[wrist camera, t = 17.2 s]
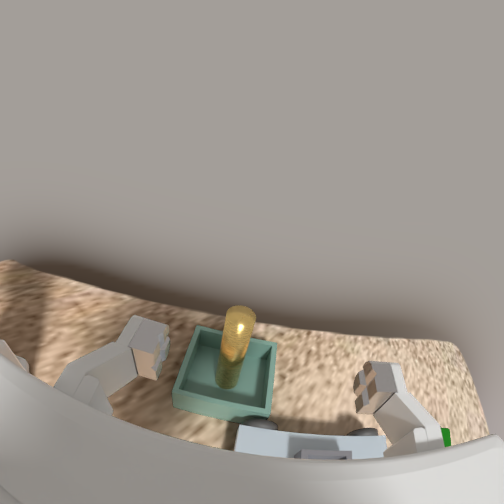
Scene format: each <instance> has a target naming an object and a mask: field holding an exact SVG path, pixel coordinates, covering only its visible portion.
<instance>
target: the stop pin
mask: <svg viewBox="0 0 504 504" xmlns="http://www.w3.org/2000/svg"><path fill="white" fill-rule="evenodd" d="M255 320H256V316H255V313H254V312H253V311H252V310H251V309H249V308H247V307H245V306H233V307H231V308H230V309H228V311H227V313H226V319H225V325H224V330H223V336H222V342H221V347H220V353H219V359H218V365H217V371H216V376H215V382H216V384H217V385H218V386H219V387H220V388H222V389H232V388H234V387H235V386H236V385H237V383H238V379H239V376H240V372H241V369H242V366H243V362H244V359H245V355H246V352H247V348H248V345H249V341H250V338H251V334H252V331H253V327H254V324H255Z"/></svg>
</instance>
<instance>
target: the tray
mask: <svg viewBox="0 0 504 504" xmlns="http://www.w3.org/2000/svg"><path fill="white" fill-rule="evenodd" d="M222 336H223V331H219V330H215V329H211V328H207V327H203V326H199V325H197V326H196V328H195V331H194V334H193V336H192V339H191V342H190V344H189V347H188V349H187V352H186V355H185V357H184V360H183V363H182V365H181V368H180V371H179V373H178V376H177V379H176V382H175V384H174V387H173V390H172V400H173V407H175V408H179V409H182V410H186V411H189V412H193V413H197V414H200V415H204V416H208V417H213V418H217V419H221V420H226V421H231V422H236V423H241V424H242V423H243V422H244V421H246V420H249V419H263V420H267V419H268V417H269V416H270V413H271V403H272V393H273V383H274V373H275V362H276V350H277V343H274V342H269V341H264V340H259V339H255V338H250V341H249V345H248V348H247V352H246V355H245V359H244V362H243V366H242V369H241V372H240V376H239V379H238V383H237V385H236V386H235V387H234V388H232V389H222V388H220V387H219V386H218V385H217V384H216V382H215V376H216V371H217V365H218V359H219V353H220V347H221V342H222Z"/></svg>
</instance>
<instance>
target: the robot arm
mask: <svg viewBox="0 0 504 504" xmlns="http://www.w3.org/2000/svg"><path fill="white" fill-rule="evenodd" d="M169 332H170V330H169V325H166V324H163V323H159V322H156V321H153V320H150V319H147V318H143V317H140V316H137V315H133V316H132V317H131V318H130V320H129V321H128V323H127V325H126V326H125V328H124V329H123V331H122V333H121V334H120V336H119V338H118V339H117V341H116V343H115V342H111V343H109V344H107V345H105V346H103V347H101V348H99V349H97V350H95V351H93V352H91V353H89V354H87V355H85V356H83V357H81V358H79V359H77V360H75V361H73V362H71V363H69V364H67V366H66V368H65V369H64V371H63V372H62V374H61V376H60V377H59V379H58V380H57V382H56V384H55V385H54V387H52V386H50V385H48V384H47V383H45V382H43V381H42V380H40V379H38V378H37V377H35V376H33V375H32V374H30V373H29V364H28V362H27V361H26V360H25V359H24V358H22V357H19V356H17V355H14V353H13V352H12V350H11V349H10V348H9V346H8V345H7V343H6V342H5V341H4V340H1V339H0V504H504V441H503V440H502V439H501V438H500V437H499V436H498V435H496V434H491V435H488V436H485V437H482V438H478V439H475V440H472V441H468V442H465V443H461V444H457V445H453V446H449V447H445V446H444V441H443V437H442V432H441V428H440V424H439V423H438V422H437V421H436V420H435V419H434V418H433V417H432V416H431V415H430V414H429V412H428V411H427V410H426V409H425V408H424V407H423V406H422V405H421V404H420V403H419V402H418V401H417V399H416V398H415V397H414V396H413V395H412V394H411V393H408V392H407V388H406V385H405V381H404V377H403V374H402V370H401V367H400V365H399V364H398V363H388V362H376V361H368V362H366V363H365V364H364V366H363V369H364V370H362V371H360V372H358V374H357V375H356V377H355V380H354V385H353V389H354V393H355V394H356V396H357V399H356V400H355V405H356V413H357V414H374V415H373V416H374V417H375V419H376V420H377V422H378V423H379V425H380V427H381V428H382V430H383V431H384V433H385V434H386V436H387V437H388V439H389V440H390V442H391V443H392V446H390V447H389V448H388V449H386V450H385V451H384V452H383V455H384V457H381V458H368V459H348V460H316V459H295V458H282V457H272V456H263V455H255V454H248V453H242V452H236V451H230V450H225V449H220V448H215V447H210V446H206V445H201V444H197V443H193V442H189V441H185V440H181V439H178V438H174V437H171V436H167V435H164V434H161V433H158V432H155V431H151V430H148V429H145V428H143V427H140V426H137V425H134V424H131V423H129V422H126V421H124V420H121V419H118V418H116V417H114V416H112V413H113V409H112V406H111V405H110V403H109V401H108V399H107V398H108V397H109V396H111V395H112V394H113V393H115V392H116V391H118V390H119V389H121V388H122V387H123V386H125V385H126V384H128V383H129V382H130V381H132V380H133V379H134V378H136V377H137V376H138V375H139V376H142V377H146V378H149V379H153V380H156V381H157V380H158V377H159V375H160V372H161V370H162V362H163V361H165V360H166V358H167V355H168V352H169V348H170V338H169V337H168V334H169Z"/></svg>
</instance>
